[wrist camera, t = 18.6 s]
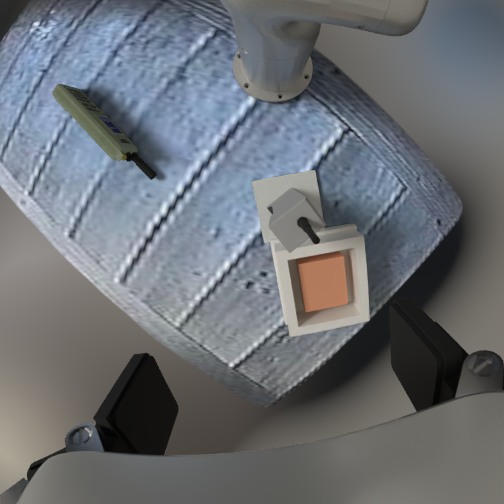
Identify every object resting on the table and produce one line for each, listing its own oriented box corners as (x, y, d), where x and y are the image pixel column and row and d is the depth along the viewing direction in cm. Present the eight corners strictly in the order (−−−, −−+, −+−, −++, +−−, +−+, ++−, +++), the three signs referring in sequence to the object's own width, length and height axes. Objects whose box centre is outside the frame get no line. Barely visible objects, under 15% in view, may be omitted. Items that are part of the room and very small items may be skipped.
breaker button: (296, 258, 47) (298, 264, 44) (338, 250, 46) (343, 256, 43) (303, 304, 49) (305, 312, 46) (343, 296, 48) (348, 303, 46)
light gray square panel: (252, 181, 46) (251, 181, 46) (314, 170, 45) (315, 170, 45) (264, 242, 49) (264, 243, 48) (324, 231, 48) (325, 231, 47)
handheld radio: (80, 86, 42) (163, 169, 46) (70, 100, 43) (151, 183, 47) (59, 80, 36) (147, 170, 40) (49, 95, 37) (134, 187, 41)
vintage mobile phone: (266, 206, 47) (269, 246, 23) (291, 187, 46) (322, 206, 22) (280, 225, 47) (298, 283, 23) (305, 206, 46) (349, 244, 22)
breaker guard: (269, 238, 49) (270, 249, 42) (352, 223, 47) (366, 231, 41) (284, 319, 52) (287, 340, 46) (360, 304, 51) (372, 322, 45)
